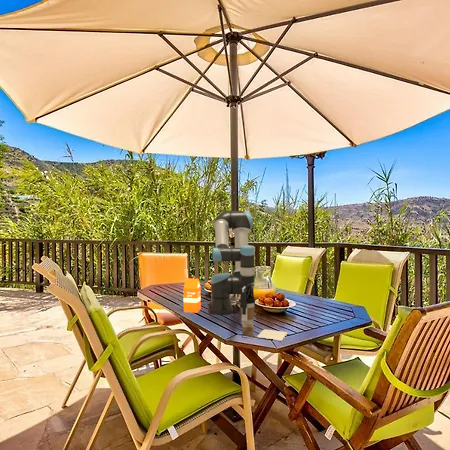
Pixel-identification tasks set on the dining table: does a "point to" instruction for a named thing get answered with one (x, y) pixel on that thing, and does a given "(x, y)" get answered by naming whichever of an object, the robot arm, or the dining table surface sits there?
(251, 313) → the coffee cup
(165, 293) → the dining table surface
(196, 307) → the orange juice
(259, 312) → the dining table surface
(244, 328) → the walnut cube
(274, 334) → the coaster
